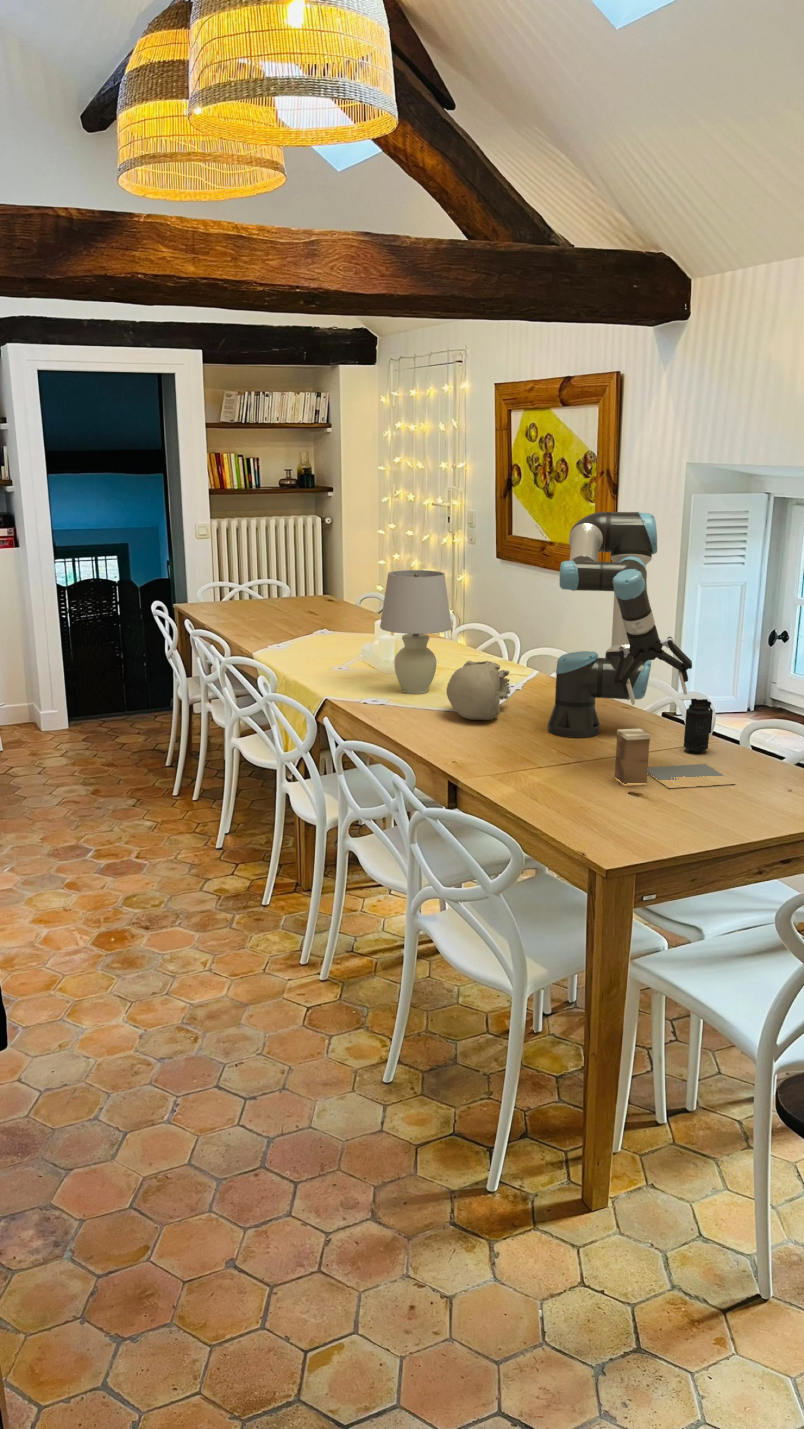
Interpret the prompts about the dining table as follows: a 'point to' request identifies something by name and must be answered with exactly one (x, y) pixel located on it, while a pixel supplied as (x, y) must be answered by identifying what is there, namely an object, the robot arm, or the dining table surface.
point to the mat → (682, 771)
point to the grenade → (698, 725)
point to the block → (632, 756)
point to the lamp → (415, 623)
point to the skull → (478, 690)
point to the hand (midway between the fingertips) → (659, 696)
